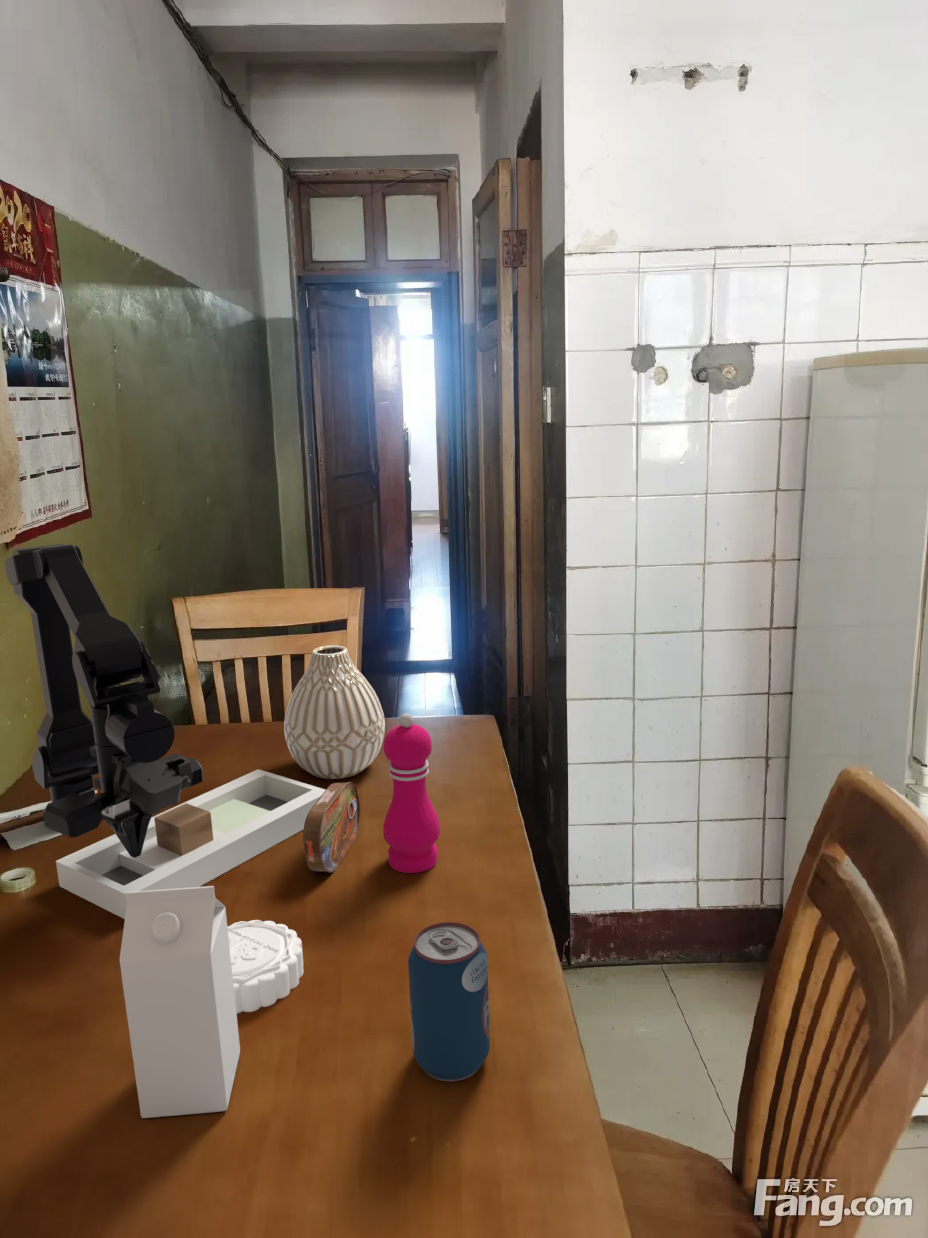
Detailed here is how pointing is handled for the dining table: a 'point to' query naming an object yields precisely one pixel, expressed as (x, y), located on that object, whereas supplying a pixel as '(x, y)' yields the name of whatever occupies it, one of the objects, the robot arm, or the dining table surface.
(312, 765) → the vase
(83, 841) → the dining table surface
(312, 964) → the dining table surface
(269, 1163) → the dining table surface
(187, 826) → the walnut block
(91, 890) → the box
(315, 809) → the tin
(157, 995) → the milk carton
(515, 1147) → the dining table surface
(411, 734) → the pepper mill
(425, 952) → the soda can
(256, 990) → the mooncake
